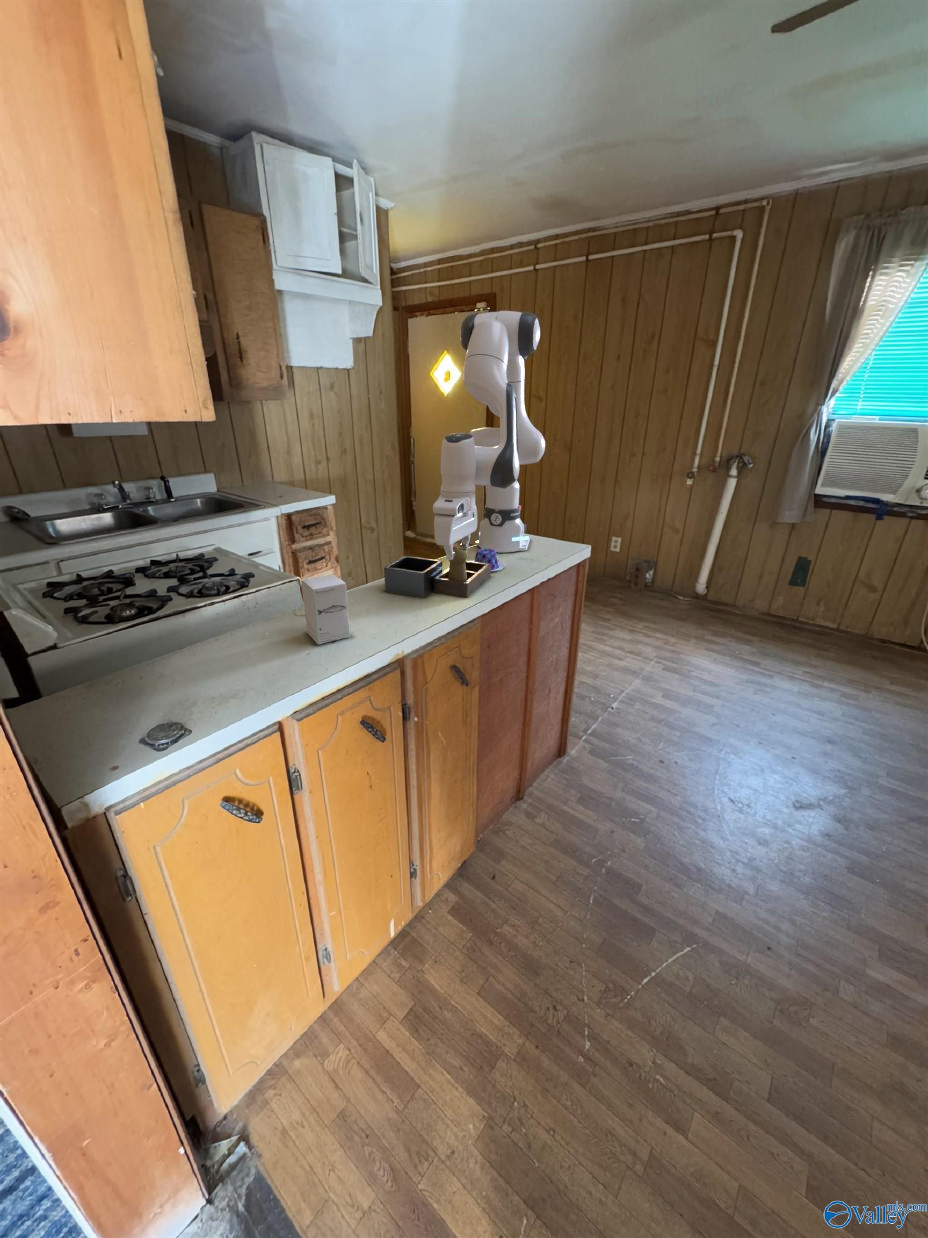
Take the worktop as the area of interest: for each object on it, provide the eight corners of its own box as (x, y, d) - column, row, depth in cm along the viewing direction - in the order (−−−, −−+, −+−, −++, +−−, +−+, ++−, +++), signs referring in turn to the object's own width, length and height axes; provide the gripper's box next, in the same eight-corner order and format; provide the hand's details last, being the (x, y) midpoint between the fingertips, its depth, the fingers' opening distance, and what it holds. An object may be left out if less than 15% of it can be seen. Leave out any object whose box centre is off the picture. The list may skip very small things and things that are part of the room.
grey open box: (405, 578, 144) (405, 555, 141) (442, 584, 140) (442, 560, 137) (385, 591, 134) (383, 567, 132) (424, 598, 130) (423, 573, 128)
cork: (469, 585, 139) (470, 547, 135) (467, 593, 134) (468, 553, 129) (447, 584, 140) (447, 546, 135) (445, 592, 134) (444, 552, 130)
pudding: (458, 566, 155) (458, 550, 153) (486, 559, 162) (486, 543, 160) (485, 576, 147) (486, 559, 144) (513, 567, 154) (514, 551, 152)
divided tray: (460, 572, 149) (460, 559, 148) (490, 576, 146) (490, 563, 144) (434, 592, 134) (433, 578, 133) (467, 597, 131) (467, 583, 129)
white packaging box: (318, 646, 105) (311, 589, 100) (306, 633, 110) (300, 578, 105) (351, 637, 109) (346, 582, 103) (339, 625, 114) (333, 572, 109)
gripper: (462, 494, 137) (461, 544, 142) (429, 507, 119) (430, 563, 125) (483, 496, 135) (482, 546, 140) (453, 509, 117) (453, 566, 123)
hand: (457, 554), depth 132 cm, fingers open, 8 cm apart
